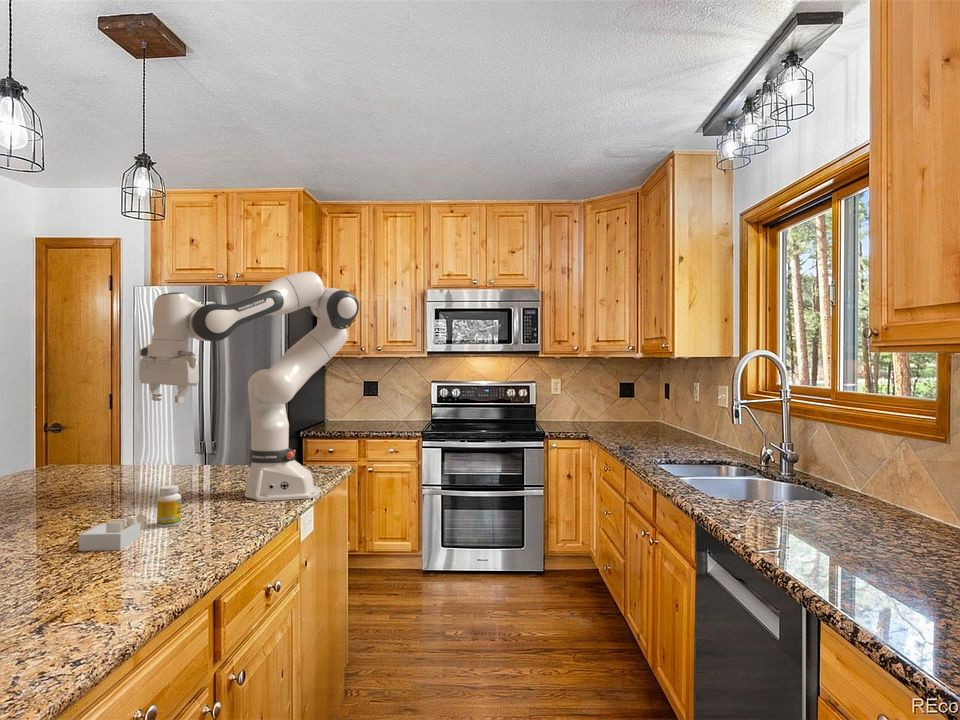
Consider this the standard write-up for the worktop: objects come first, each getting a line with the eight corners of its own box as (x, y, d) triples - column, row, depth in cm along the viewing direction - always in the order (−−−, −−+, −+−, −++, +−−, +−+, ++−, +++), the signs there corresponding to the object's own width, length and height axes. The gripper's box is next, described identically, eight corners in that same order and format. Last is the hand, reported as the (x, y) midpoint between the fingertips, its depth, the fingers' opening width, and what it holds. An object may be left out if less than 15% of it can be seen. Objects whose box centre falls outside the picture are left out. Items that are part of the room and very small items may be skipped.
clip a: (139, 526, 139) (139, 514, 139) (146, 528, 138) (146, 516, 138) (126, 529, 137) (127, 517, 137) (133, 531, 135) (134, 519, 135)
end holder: (140, 537, 130) (140, 522, 130) (120, 550, 122) (120, 534, 122) (101, 538, 130) (101, 523, 130) (78, 550, 121) (79, 534, 121)
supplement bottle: (157, 523, 142) (158, 485, 143) (181, 520, 145) (182, 483, 145) (155, 528, 138) (156, 489, 138) (180, 526, 140) (181, 487, 140)
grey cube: (111, 532, 134) (111, 519, 134) (125, 531, 135) (125, 518, 135) (106, 535, 132) (106, 523, 132) (120, 534, 132) (121, 522, 132)
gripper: (205, 352, 152) (204, 403, 151) (156, 351, 160) (155, 399, 160) (184, 351, 146) (182, 404, 146) (135, 350, 155) (133, 400, 155)
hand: (167, 401), depth 153 cm, fingers open, 8 cm apart
